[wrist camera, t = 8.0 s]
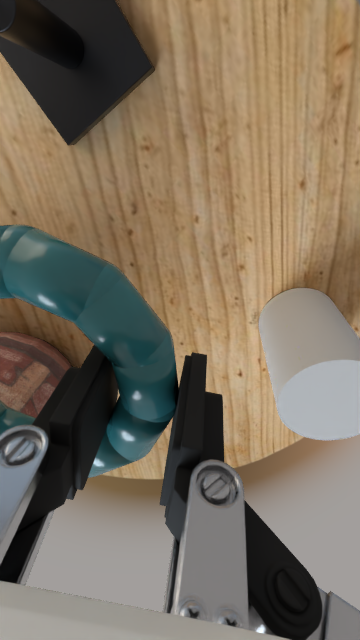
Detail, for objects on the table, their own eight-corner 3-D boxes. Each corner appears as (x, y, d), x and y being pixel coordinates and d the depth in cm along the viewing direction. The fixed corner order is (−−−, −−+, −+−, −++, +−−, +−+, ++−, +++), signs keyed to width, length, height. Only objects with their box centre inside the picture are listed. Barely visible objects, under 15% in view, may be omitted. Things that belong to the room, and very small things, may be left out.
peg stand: (75, -71, 20) (-31, -231, 12) (155, 70, 24) (119, 28, 15) (-7, 34, 24) (-139, -30, 15) (73, 145, 27) (4, 147, 18)
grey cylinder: (245, 338, 35) (258, 420, 25) (281, 276, 31) (314, 343, 21) (310, 361, 36) (348, 451, 25) (353, 304, 32) (420, 383, 21)
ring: (35, 142, 8) (-15, 143, 6) (232, 394, 12) (234, 438, 10) (-135, 318, 12) (-196, 348, 10) (55, 468, 15) (34, 510, 13)
